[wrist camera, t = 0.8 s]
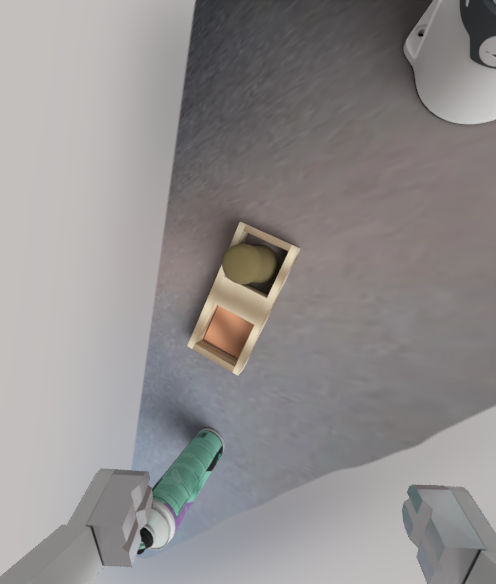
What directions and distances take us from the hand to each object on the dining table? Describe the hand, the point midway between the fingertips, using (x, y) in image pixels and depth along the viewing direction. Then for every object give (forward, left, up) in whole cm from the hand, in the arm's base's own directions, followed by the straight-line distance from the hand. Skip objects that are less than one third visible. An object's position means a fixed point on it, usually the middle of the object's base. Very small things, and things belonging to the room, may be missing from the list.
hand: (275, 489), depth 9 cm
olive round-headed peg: (-3, -12, -37) cm, 39 cm away
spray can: (+29, -7, -37) cm, 48 cm away
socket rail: (+3, -12, -36) cm, 39 cm away
